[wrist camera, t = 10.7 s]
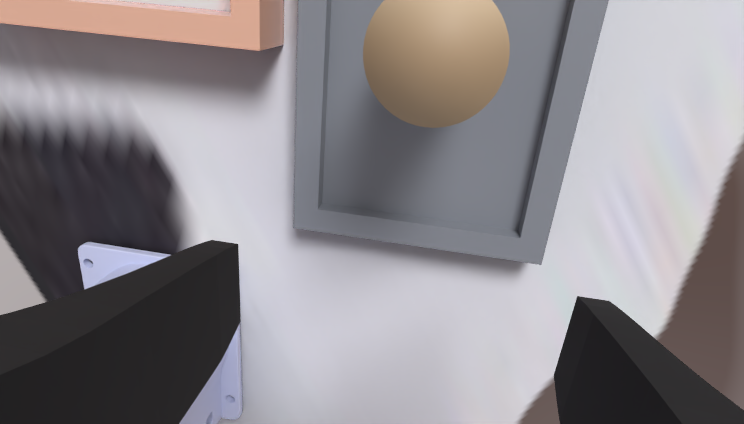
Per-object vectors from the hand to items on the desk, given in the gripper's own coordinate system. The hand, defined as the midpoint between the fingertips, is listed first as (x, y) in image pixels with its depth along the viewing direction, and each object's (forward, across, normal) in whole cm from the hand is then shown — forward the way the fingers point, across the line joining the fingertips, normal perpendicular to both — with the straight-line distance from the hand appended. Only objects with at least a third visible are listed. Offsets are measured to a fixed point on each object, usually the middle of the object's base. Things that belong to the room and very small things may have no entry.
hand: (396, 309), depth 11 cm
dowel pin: (+10, 0, -5) cm, 11 cm away
